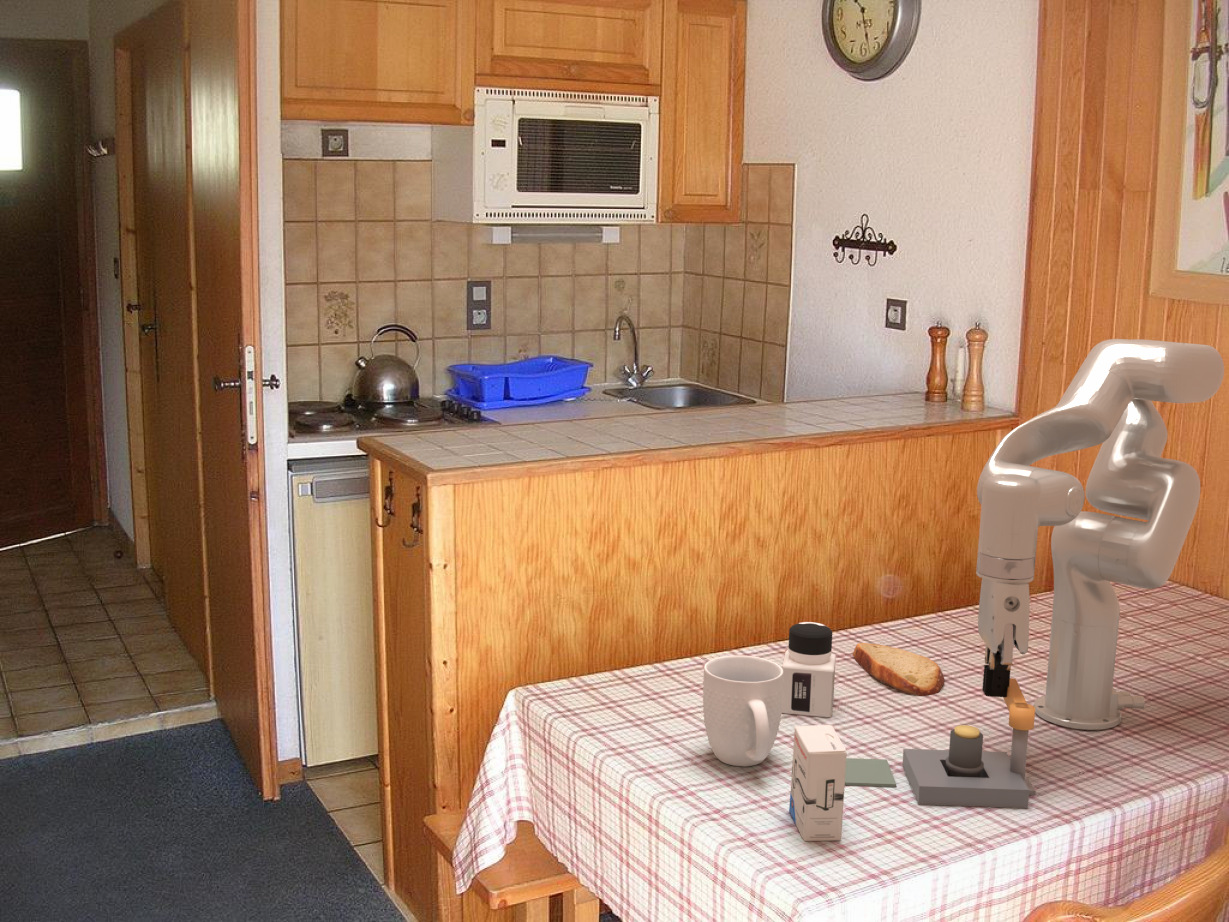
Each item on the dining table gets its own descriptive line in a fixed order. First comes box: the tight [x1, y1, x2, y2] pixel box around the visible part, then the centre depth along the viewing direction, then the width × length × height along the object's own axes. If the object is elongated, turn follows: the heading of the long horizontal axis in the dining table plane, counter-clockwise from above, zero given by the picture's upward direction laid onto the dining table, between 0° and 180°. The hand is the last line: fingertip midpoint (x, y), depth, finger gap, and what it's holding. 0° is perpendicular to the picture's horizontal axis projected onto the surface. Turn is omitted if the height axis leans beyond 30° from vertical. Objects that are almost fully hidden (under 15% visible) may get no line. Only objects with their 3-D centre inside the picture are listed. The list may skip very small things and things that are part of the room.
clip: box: [1002, 677, 1036, 731], centre depth 178 cm, size 13×3×3 cm, turn 172°
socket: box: [902, 728, 1037, 809], centre depth 174 cm, size 16×12×8 cm
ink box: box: [788, 724, 847, 842], centre depth 162 cm, size 9×5×12 cm, turn 5°
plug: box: [946, 724, 984, 778], centre depth 175 cm, size 5×5×8 cm
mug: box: [702, 654, 783, 767], centre depth 180 cm, size 15×11×13 cm
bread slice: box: [852, 642, 946, 697], centre depth 218 cm, size 18×18×4 cm
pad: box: [845, 757, 897, 788], centre depth 179 cm, size 8×8×1 cm
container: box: [781, 621, 837, 718], centre depth 201 cm, size 8×8×13 cm
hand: (995, 694), depth 181 cm, fingers closed
